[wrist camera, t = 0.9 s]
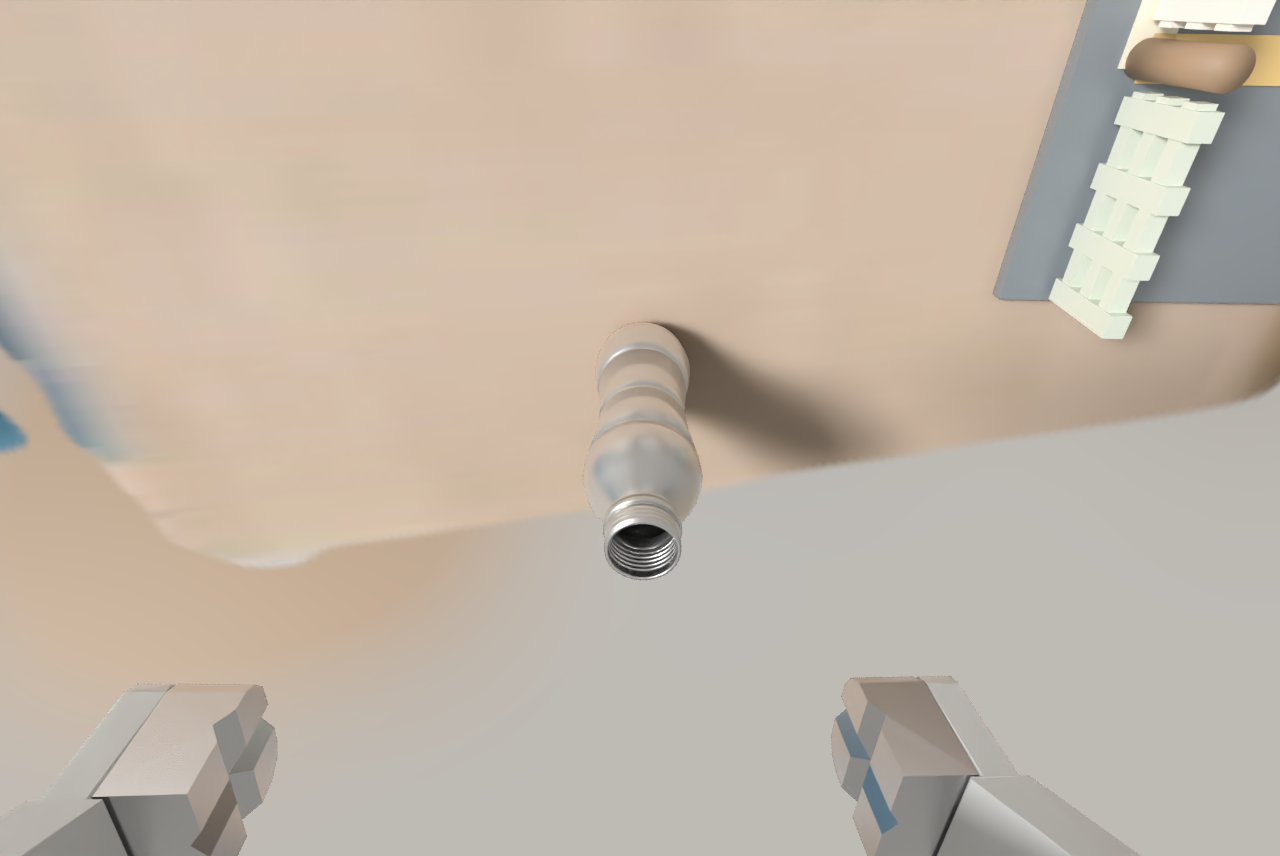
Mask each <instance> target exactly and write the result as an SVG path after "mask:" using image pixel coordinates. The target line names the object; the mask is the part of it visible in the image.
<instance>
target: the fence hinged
mask: <svg viewBox="0 0 1280 856" xmlns="http://www.w3.org/2000/svg"><path fill="white" fill-rule="evenodd" d="M1163 95H1164V94H1162V93H1157V92H1145V91H1134V92H1133V95H1132V96H1124V98H1123V101H1122V103H1121V106H1120V109H1119V111H1118V114H1117V117H1116V119H1115V122H1114V124H1117V125H1121V126H1120V129H1119V132H1118V134H1117V137H1116V140H1115V142H1114V145H1113V147H1112V150H1111V153H1110V155H1109V158H1108V161H1107V163H1099V165H1098V168H1097V170H1096V173H1095V176H1094V178H1093V181H1092V184H1091V186H1090V188H1092V189H1094V190H1096V192H1095V195H1094V198H1093V200H1092V203H1091V206H1090V208H1089V211H1088V213H1087V216H1086V219H1085V221H1084V223H1077V224H1076V227H1075V229H1074V232H1073V235H1072V237H1071V240H1070V243H1069V245H1068V246H1069V247H1071V248H1073V249H1074V250H1073V253H1072V256H1071V258H1070V261H1069V264H1068V266H1067V269H1066V272H1065V274H1064V277H1063V278H1056V280H1055V283H1054V285H1053V288H1052V291H1051V294H1050V296H1049V300H1051V301H1052V302H1054V303H1055V304H1056V305H1058V306H1059V307H1060V308H1062V309H1063V310H1064V311H1066V312H1067V313H1068V314H1070V315H1071V316H1072V317H1074V318H1075V319H1076V320H1078V321H1079V322H1080V323H1082V324H1083V325H1084V326H1086V327H1087V328H1088V329H1090V330H1091V331H1092V332H1094V333H1095V334H1096V335H1098V336H1099V337H1100V338H1102V339H1123V337H1124V335H1125V333H1126V330H1127V328H1128V326H1129V324H1130V322H1131V319H1132V317H1133V316H1132V315H1130V314H1128V313H1127V312H1126V311H1127V309H1128V307H1129V304H1130V302H1131V300H1132V298H1133V295H1134V293H1135V291H1136V289H1137V286H1138V284H1139V282H1140V281H1149V280H1150V278H1151V275H1152V273H1153V271H1154V269H1155V267H1156V264H1157V262H1158V260H1159V258H1160V255H1158V254H1156V253H1154V252H1153V251H1154V248H1155V246H1156V244H1157V242H1158V239H1159V237H1160V235H1161V233H1162V230H1163V228H1164V226H1165V224H1166V221H1167V219H1168V217H1169V216H1179V214H1180V211H1181V209H1182V207H1183V205H1184V203H1185V200H1186V198H1187V196H1188V194H1189V192H1190V189H1191V188H1189V187H1186V186H1183V183H1184V181H1185V179H1186V177H1187V174H1188V172H1189V170H1190V168H1191V165H1192V163H1193V161H1194V159H1195V156H1196V154H1197V152H1198V150H1199V147H1200V145H1201V144H1211V143H1212V141H1213V139H1214V136H1215V134H1216V132H1217V130H1218V128H1219V125H1220V123H1221V121H1222V119H1223V117H1224V114H1225V112H1220V111H1216V109H1217V107H1218V105H1219V104H1215V103H1210V102H1204V101H1189V100H1190V99H1189V98H1183V97H1178V96H1163Z"/></svg>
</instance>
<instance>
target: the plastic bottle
mask: <svg viewBox="0 0 1280 856" xmlns="http://www.w3.org/2000/svg"><path fill="white" fill-rule="evenodd" d="M595 374H596V384H597V388H598V392H599V396H600V415H599V420H598V425H597V430H596V432H595V435H594V438H593V440H592V443H591V446H590V448H589V451H588V454H587V456H586V460H585V464H584V470H583V486H584V489H585V493H586V496H587V499H588V502H589V504H590V506H591V508H592V509H593V511H594V513H595V514H596V515H597V516H598V517H599V518H600V519H601V520H602V521H603V522H604V524H603V533H604V538H605V540H604V542H605V543H604V552H605V556H606V560H607V561H608V563H609V565H610V566H611V567H612V568H613V569H614V570H615V571H616V572H618V573H619V574H621V575H623V576H625V577H628V578H631V579H636V580H650V579H655V578H658V577H661V576H663V575H665V574H667V573H668V572H669V571H671V570H672V569H673V568H674V567H675V566H676V564H677V563H678V561H679V558H680V555H681V536H682V522H683V521H684V520H685V519H686V518H687V516H688V515H689V514H690V513H691V512H692V510H693V508H694V507H695V505H696V502H697V499H698V497H699V494H700V490H701V487H702V477H703V475H702V470H701V465H700V461H699V456H698V454H697V451H696V449H695V446H694V443H693V441H692V438H691V435H690V433H689V430H688V425H687V420H686V415H685V397H686V394H687V390H688V386H689V378H690V366H689V360H688V358H687V355H686V353H685V351H684V349H683V347H682V345H681V343H680V342H679V340H678V339H677V338H676V337H675V336H674V335H673V334H672V333H671V332H670V331H669V330H667V329H665V328H664V327H662V326H659V325H657V324H653V323H648V322H637V323H632V324H628V325H626V326H623V327H621V328H619V329H618V330H616V331H615V332H614V333H613V334H611V335H610V336H609V337H608V339H607V340H606V342H605V343H604V345H603V347H602V349H601V350H600V353H599V355H598V358H597V361H596V366H595Z"/></svg>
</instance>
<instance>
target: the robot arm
mask: <svg viewBox="0 0 1280 856" xmlns="http://www.w3.org/2000/svg"><path fill="white" fill-rule="evenodd" d="M841 697H842V700H843V702H844V704H845V707H846V710H845V711H844V712H842V713H841V714H840V715H839V716H837V717H836V718H835V721H834V726H833V730H832V735H831V738H832V756H833V761H834V766H835V770H836V773H837V776H838V778H839V782H840V784H841V787H842V788H843V789H844V790H845V791H846V792H847V793H848V794H850V795H851V796H852V797H853V798H854V799H855V800H856V801H857V802H858V803H857V806H856V809H855V812H854V816H853V819H854V822H855V825H856V827H857V830H858V833H859V835H860V838H861V840H862V843H863V846H864V848H865V850H866V854H867V856H1140V855H1139V854H1138V853H1136V852H1135V851H1134V850H1132V849H1131V848H1129V847H1128V846H1126V845H1125V844H1124V843H1122V842H1121V841H1119V840H1118V839H1117V838H1115V837H1114V836H1113V835H1111V834H1110V833H1109V832H1107V831H1106V830H1104V829H1103V828H1101V827H1100V826H1099V825H1097V824H1096V823H1095V822H1093V821H1092V820H1090V819H1089V818H1088V817H1086V816H1085V815H1083V814H1082V813H1081V812H1079V811H1078V810H1077V809H1075V808H1074V807H1072V806H1071V805H1070V804H1068V803H1067V802H1065V801H1064V800H1063V799H1061V798H1060V797H1058V796H1057V795H1056V794H1054V793H1053V792H1051V791H1050V790H1049V789H1047V788H1046V787H1045V786H1043V785H1042V784H1040V783H1039V782H1038V781H1036V780H1035V779H1033V778H1032V777H1031V776H1019V775H1018V773H1017V772H1016V770H1015V768H1014V767H1013V765H1012V764H1011V762H1010V761H1009V759H1008V758H1007V756H1006V755H1005V753H1004V751H1003V750H1002V748H1001V747H1000V745H999V744H998V742H997V741H996V739H995V738H994V736H993V735H992V733H991V732H990V730H989V728H988V727H987V726H986V724H985V722H984V721H983V719H982V718H981V716H980V715H979V713H978V712H977V710H976V708H975V707H974V705H973V704H972V702H971V701H970V699H969V698H968V696H967V695H966V693H965V691H964V690H963V688H962V687H961V685H960V684H959V683H958V681H956V680H955V679H954V678H952V677H951V676H937V677H936V676H929V677H912V676H910V677H870V678H869V677H866V678H850V679H849V680H848V681H847V682H846V683H845V686H844V689H843V693H842V696H841ZM267 705H268V702H267V699H266V696H265V692H264V689H263V687H262V686H258V685H230V684H228V685H227V684H137V685H135V686H134V687H132V688H130V689H129V690H127V691H126V692H125V693H123V695H122V696H121V697H120V698H119V699H118V701H117V702H116V703H115V705H114V706H113V707H112V709H111V710H110V711H109V712H108V713H107V715H106V716H105V717H104V719H103V720H102V721H101V722H100V724H99V725H98V726H97V728H96V729H95V730H94V731H93V733H92V734H91V735H90V737H89V738H88V739H87V740H86V742H85V743H84V744H83V745H82V747H81V748H80V749H79V750H78V752H77V753H76V754H75V756H74V757H73V758H72V759H71V761H70V762H69V763H68V765H67V766H66V767H65V769H64V770H63V771H62V772H61V774H60V775H59V776H58V777H57V779H56V780H55V781H54V783H53V784H52V785H51V786H50V788H49V789H48V790H47V791H46V793H45V794H44V795H43V797H42V798H41V799H40V800H34V801H25V802H23V803H22V804H20V805H19V806H17V807H16V808H14V809H13V810H11V811H9V812H8V813H6V814H5V815H3V816H2V817H0V856H238V854H239V852H240V850H241V847H242V846H243V844H244V841H245V839H246V837H247V835H246V832H245V828H244V825H243V821H242V819H243V818H245V816H247V815H248V814H249V813H251V812H252V811H253V810H254V809H255V808H256V807H258V806H259V805H260V804H261V803H262V802H263V800H264V798H265V795H266V793H267V791H268V788H269V786H270V784H271V782H272V778H273V774H274V769H275V765H276V761H277V737H276V733H275V729H274V727H273V726H272V725H270V724H269V723H268V722H267V721H265V720H264V719H263V718H261V717H262V715H263V713H264V711H265V709H266V707H267Z"/></svg>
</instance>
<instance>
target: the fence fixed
mask: <svg viewBox="0 0 1280 856" xmlns="http://www.w3.org/2000/svg"><path fill="white" fill-rule="evenodd" d="M1275 2H1276V0H1160V1H1159V4H1158V7H1157V9H1156V12H1155V15H1154V17H1153V20H1161V21H1160V23H1159V26H1158V27H1165V28H1184V29H1197V30H1214V31H1233V32H1251V31H1252V29H1253V26H1254V24H1259V25H1265V24H1266V22H1267V20H1268V17H1269V15H1270V13H1271V11H1272V9H1273V6H1274V4H1275ZM1255 63H1256V54H1255V52H1254V50H1253V49H1252V48H1251V47H1249V46H1247V45H1238V44H1226V43H1213V42H1201V41H1189V40H1177V39H1165V38H1147V39H1144V40H1142V41H1141V42H1139V43H1138V44H1137V45H1135V46H1134V47H1133V49H1132V50H1131V51H1130V53H1129V55H1128V57H1127V59H1126V63H1125V69H1124V72H1125V74H1126V75H1127V76H1128V77H1129V78H1131V79H1136V80H1142V81H1148V82H1154V83H1160V84H1165V85H1171V86H1177V87H1183V88H1189V89H1195V90H1201V91H1207V92H1213V93H1218V94H1225V93H1229V92H1231V91H1234V90H1235V89H1237V88H1239V87H1240V86H1241V85H1242V84H1243V83H1245V81H1246V80H1247V79H1248V78H1249V77H1250V75H1251V73H1252V72H1253V69H1254V67H1255Z"/></svg>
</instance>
